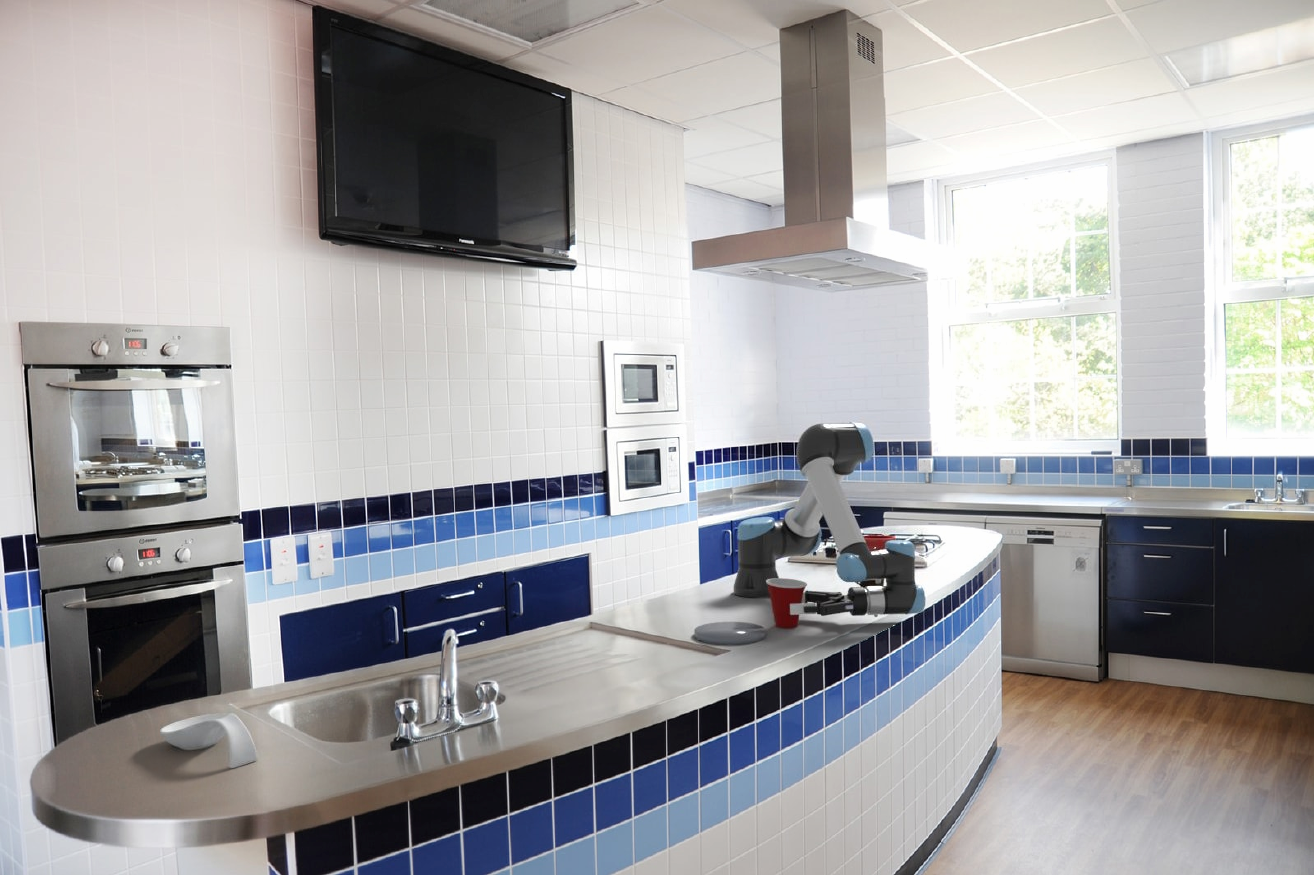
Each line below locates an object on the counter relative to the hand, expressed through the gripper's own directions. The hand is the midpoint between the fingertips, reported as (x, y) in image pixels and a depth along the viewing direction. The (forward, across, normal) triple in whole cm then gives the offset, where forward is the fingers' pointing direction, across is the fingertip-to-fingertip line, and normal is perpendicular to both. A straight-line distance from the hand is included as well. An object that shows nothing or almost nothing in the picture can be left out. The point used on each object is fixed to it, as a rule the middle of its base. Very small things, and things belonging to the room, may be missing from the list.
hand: (785, 603), depth 237 cm
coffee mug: (-32, +37, -6) cm, 50 cm away
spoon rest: (+115, -76, -6) cm, 138 cm away
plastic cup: (0, 0, -6) cm, 6 cm away
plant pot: (-47, +79, -6) cm, 92 cm away
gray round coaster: (+16, -8, -6) cm, 19 cm away
